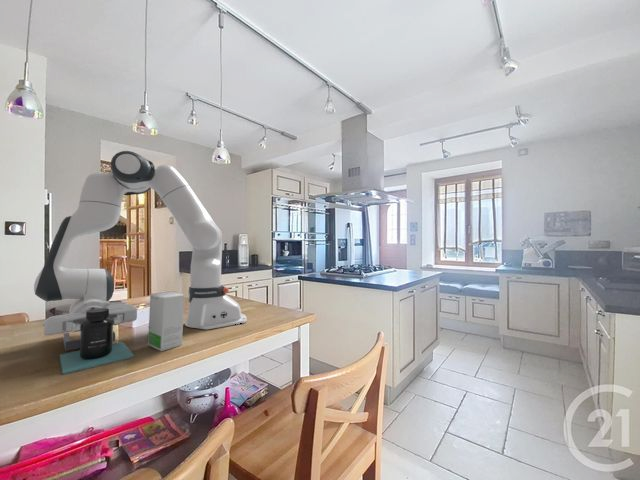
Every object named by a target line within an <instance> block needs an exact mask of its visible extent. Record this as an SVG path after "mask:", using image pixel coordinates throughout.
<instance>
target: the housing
mask: <svg viewBox="0 0 640 480" xmlns="http://www.w3.org/2000/svg"><path fill="white" fill-rule="evenodd" d="M62 334H63V336H62V338H63V339H62V340H63V341H62V343H63V346H64V350H65V352H67V351H71V350H72V351H73V350H76V349H80V337H79V338H76V339H71V336H70V332H65V333H62ZM115 341H116V332H115V331H114V330H113V342H115Z"/></svg>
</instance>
